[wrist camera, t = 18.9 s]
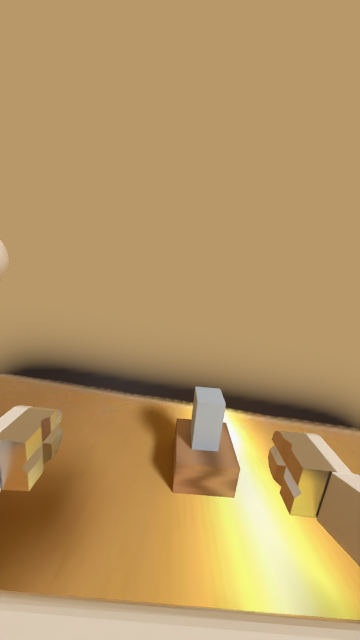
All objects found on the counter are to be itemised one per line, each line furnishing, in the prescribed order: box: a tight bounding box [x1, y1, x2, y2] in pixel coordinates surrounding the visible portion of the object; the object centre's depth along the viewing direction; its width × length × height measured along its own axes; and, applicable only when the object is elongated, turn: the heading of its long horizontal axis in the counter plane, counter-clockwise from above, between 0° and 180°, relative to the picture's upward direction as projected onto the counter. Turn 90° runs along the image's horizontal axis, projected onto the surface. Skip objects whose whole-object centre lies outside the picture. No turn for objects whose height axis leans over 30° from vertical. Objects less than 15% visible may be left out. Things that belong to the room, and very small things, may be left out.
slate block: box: [190, 387, 226, 451], centre depth 35 cm, size 4×4×9 cm
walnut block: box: [173, 418, 240, 498], centre depth 37 cm, size 10×10×6 cm
